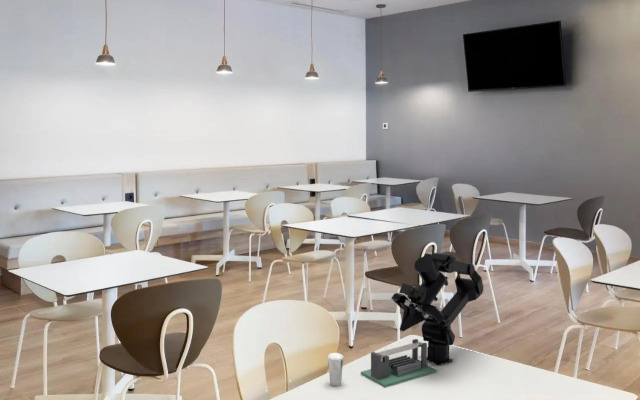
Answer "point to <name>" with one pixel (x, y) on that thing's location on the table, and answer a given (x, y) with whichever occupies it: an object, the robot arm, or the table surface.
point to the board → (396, 380)
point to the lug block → (379, 366)
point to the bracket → (423, 354)
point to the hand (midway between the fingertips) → (401, 330)
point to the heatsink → (403, 366)
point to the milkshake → (335, 368)
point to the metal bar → (399, 349)
